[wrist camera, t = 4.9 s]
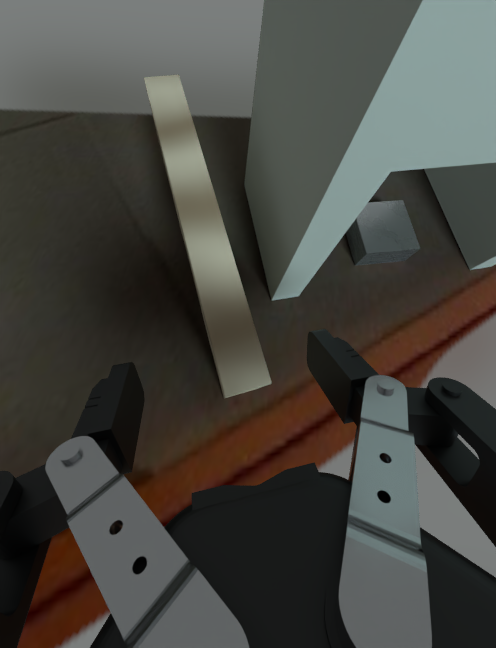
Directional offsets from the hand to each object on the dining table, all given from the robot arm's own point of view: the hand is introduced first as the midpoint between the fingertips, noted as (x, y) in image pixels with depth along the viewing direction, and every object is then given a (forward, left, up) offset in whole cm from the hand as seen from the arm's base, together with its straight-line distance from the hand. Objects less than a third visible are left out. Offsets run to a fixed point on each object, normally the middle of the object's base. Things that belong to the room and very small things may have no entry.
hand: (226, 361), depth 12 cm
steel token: (+18, -6, -9) cm, 21 cm away
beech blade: (+7, +6, -9) cm, 13 cm away
